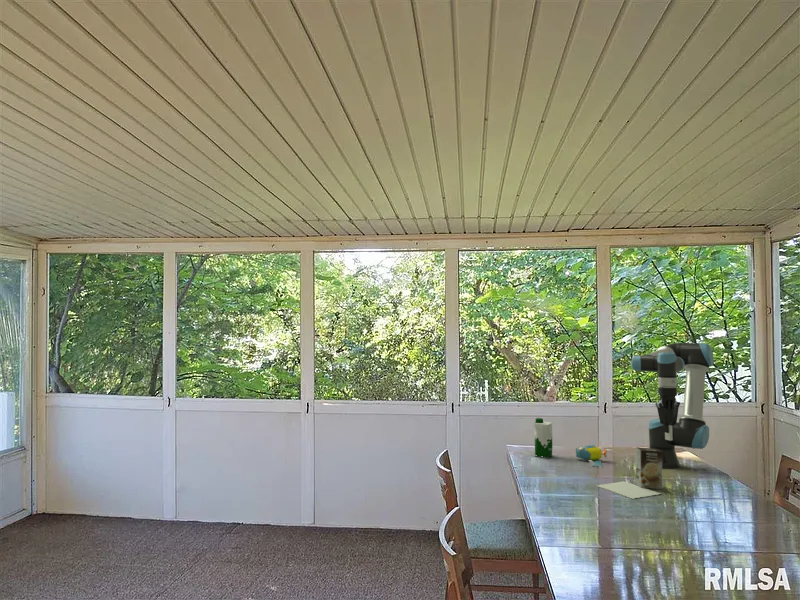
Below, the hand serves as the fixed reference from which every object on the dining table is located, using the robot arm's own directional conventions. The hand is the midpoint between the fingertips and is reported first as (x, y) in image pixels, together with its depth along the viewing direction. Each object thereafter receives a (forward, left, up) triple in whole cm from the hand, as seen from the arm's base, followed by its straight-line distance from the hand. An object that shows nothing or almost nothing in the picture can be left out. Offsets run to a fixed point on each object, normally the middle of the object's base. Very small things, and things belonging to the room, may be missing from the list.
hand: (668, 439), depth 241 cm
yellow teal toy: (+1, -48, -20) cm, 52 cm away
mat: (+25, 0, -19) cm, 31 cm away
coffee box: (+13, 0, -19) cm, 23 cm away
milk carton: (+18, -66, -20) cm, 71 cm away
